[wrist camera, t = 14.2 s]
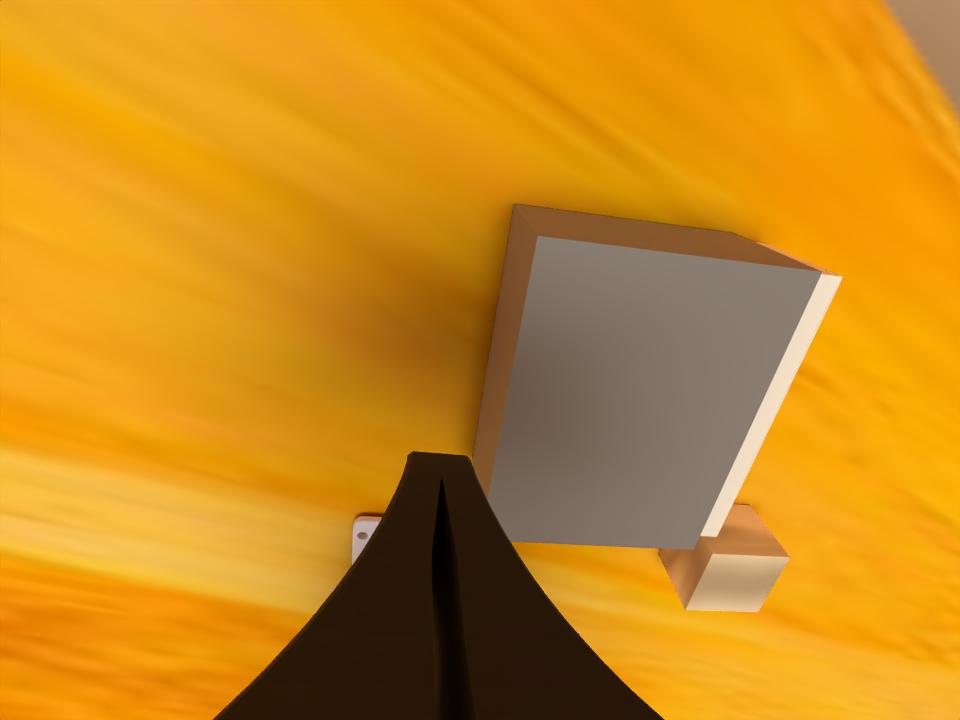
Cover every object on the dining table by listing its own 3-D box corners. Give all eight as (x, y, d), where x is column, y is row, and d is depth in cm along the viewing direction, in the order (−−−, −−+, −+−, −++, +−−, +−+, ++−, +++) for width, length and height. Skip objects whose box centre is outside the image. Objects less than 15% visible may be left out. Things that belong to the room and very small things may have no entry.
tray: (674, 469, 25) (716, 536, 21) (499, 457, 24) (510, 526, 20) (764, 242, 20) (843, 276, 16) (546, 214, 19) (574, 243, 15)
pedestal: (723, 557, 29) (757, 612, 26) (658, 554, 28) (685, 609, 25) (749, 505, 27) (790, 557, 24) (680, 500, 26) (712, 553, 23)
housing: (647, 468, 25) (693, 550, 21) (472, 456, 24) (479, 539, 19) (734, 232, 20) (822, 271, 15) (513, 203, 19) (537, 235, 14)
